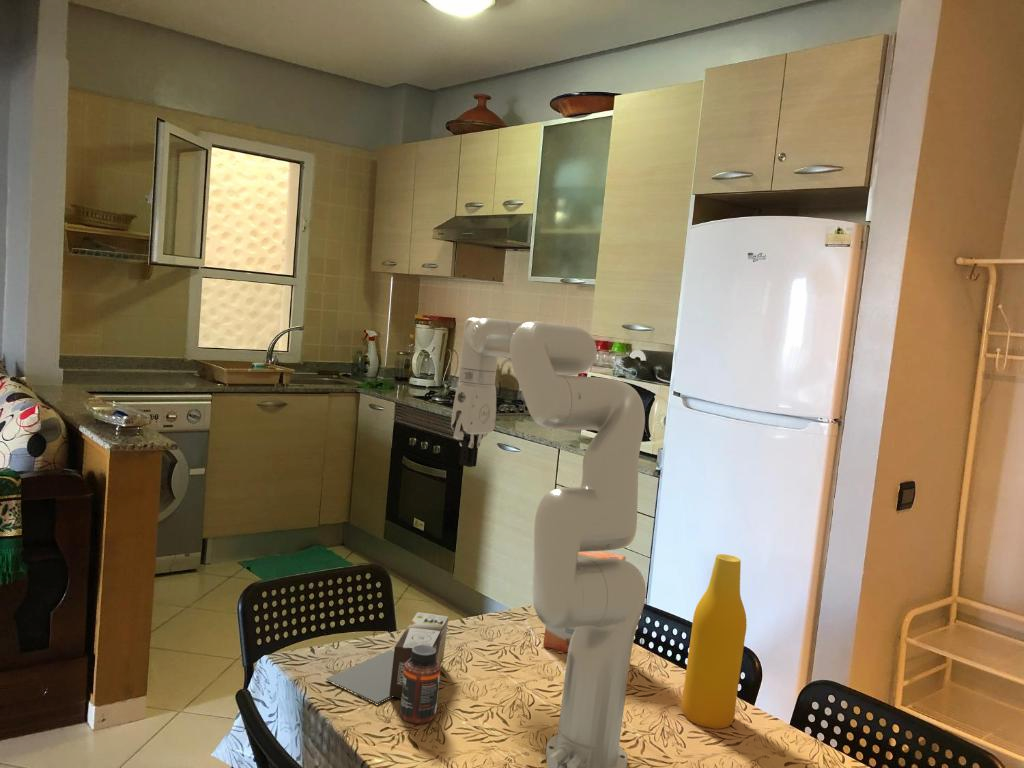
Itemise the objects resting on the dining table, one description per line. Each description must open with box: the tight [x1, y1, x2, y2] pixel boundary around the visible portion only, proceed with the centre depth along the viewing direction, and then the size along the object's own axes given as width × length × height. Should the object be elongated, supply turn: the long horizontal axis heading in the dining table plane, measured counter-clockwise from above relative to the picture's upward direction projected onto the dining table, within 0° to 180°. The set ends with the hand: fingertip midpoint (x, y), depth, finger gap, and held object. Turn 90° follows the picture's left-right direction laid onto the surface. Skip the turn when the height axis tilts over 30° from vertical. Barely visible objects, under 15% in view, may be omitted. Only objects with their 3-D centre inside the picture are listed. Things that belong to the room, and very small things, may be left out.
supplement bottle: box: [399, 645, 441, 725], centre depth 129 cm, size 6×6×11 cm
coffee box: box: [390, 611, 449, 699], centre depth 141 cm, size 9×6×16 cm
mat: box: [325, 649, 394, 705], centre depth 142 cm, size 17×12×1 cm
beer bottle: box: [680, 553, 747, 730], centre depth 139 cm, size 9×9×29 cm
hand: (467, 465), depth 164 cm, fingers closed
